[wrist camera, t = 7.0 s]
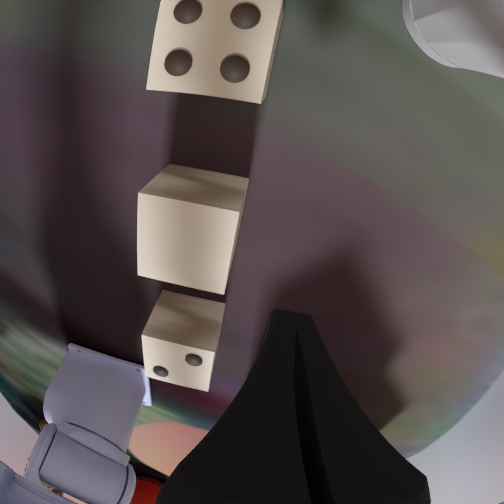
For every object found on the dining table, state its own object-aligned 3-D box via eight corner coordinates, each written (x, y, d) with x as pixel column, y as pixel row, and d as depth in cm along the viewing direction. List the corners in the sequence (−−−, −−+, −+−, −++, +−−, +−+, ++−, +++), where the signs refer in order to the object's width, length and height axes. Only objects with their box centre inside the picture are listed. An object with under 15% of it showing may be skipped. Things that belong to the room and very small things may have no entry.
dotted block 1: (179, 84, 16) (145, 89, 12) (193, 5, 14) (163, -16, 9) (265, 96, 16) (260, 104, 12) (282, 16, 14) (283, -7, 9)
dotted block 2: (162, 332, 27) (145, 377, 22) (162, 289, 24) (141, 335, 20) (218, 344, 27) (207, 392, 22) (225, 302, 24) (214, 353, 20)
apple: (133, 467, 52) (120, 512, 42) (176, 483, 54) (167, 527, 44) (124, 474, 56) (112, 513, 47) (162, 488, 59) (153, 527, 49)
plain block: (164, 233, 21) (137, 275, 17) (169, 163, 19) (138, 192, 15) (235, 247, 22) (223, 294, 17) (249, 178, 19) (239, 212, 15)
